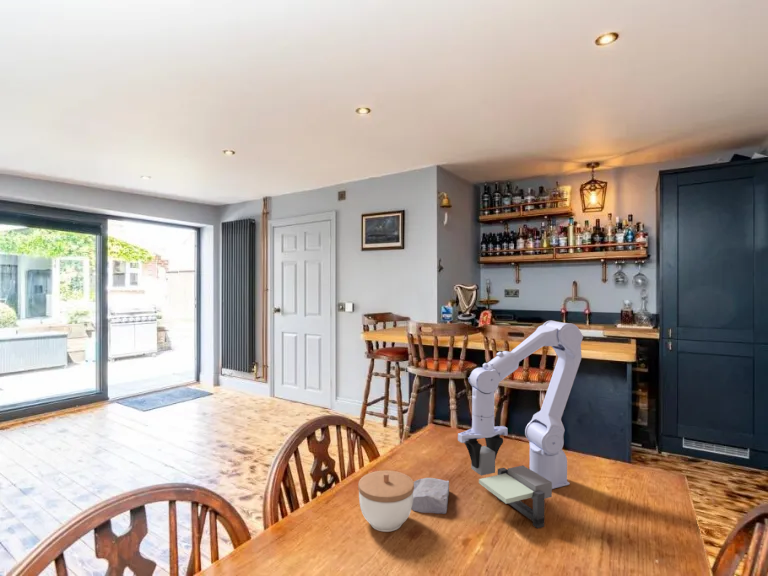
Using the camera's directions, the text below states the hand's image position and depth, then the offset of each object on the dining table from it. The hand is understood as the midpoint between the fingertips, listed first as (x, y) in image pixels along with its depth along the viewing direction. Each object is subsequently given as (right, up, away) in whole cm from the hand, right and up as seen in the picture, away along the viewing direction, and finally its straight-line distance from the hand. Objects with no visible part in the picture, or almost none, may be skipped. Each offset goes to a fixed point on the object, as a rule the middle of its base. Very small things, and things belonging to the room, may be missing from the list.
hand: (483, 465), depth 109 cm
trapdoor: (+5, -1, -12) cm, 13 cm away
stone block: (-15, -7, -6) cm, 18 cm away
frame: (+6, -6, -12) cm, 14 cm away
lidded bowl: (-26, -6, -16) cm, 31 cm away
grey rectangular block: (0, -2, 0) cm, 2 cm away
